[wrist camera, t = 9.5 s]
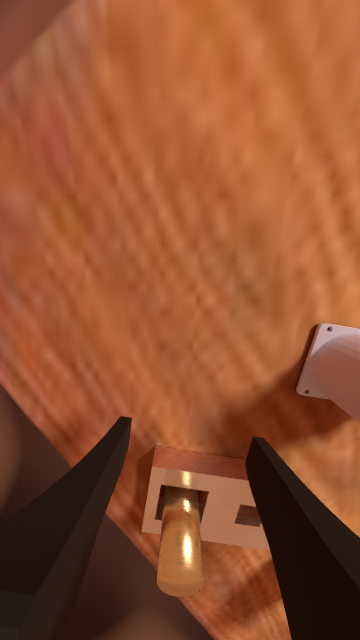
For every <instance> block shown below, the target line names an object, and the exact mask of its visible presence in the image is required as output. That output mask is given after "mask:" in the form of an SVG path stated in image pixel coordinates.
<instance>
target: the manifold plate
mask: <svg viewBox="0 0 360 640" xmlns="http://www.w3.org/2000/svg"><path fill="white" fill-rule="evenodd" d="M245 462H246V459H239V458H233V457H226V456H220V455H213V454H206V453H200V452H193V451H187V450H180V449H173V448H167V447H160V446H155V452H154V458H153V463H152V470H151V476H150V482H149V488H148V494H147V501H146V507H145V513H144V519H143V526H142V532H147V533H154V534H160V535H161V526H162V514H163V502H164V496H160V495H159V493H160V487H161V484H162V485H168V486H175V487H182V488H189V489H195V490H201V493H200V497H199V501H198V505H199V519H200V533H201V540H202V541H209V542H216V543H223V544H230V545H237V546H244V547H251V548H258V549H265V550H270V548H269V545H268V541H267V538H266V535H265V532H264V529H263V526H262V523H261V520H260V517H259V514H258V511H257V508H256V505H255V501H254V498H253V495H252V492H251V489H250V485H249V481H248V477H247V472H246V467H245Z"/></svg>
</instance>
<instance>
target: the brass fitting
mask: <svg viewBox="0 0 360 640" xmlns="http://www.w3.org/2000/svg"><path fill="white" fill-rule="evenodd" d="M157 584H158V587H159V588H160V589H161V590H162V591H163V592H164V593H166V594H168V595H171V596H175V597H187V596H191V595H194V594H196V593H198V592H199V591H200V590H201V589H202V587H203V585H204V576H203V562H202V548H201V533H200V519H199V505H198V491H197V490H195V489H189V488H182V487H175V486H168V485H165V491H164V502H163V514H162V526H161V538H160V549H159V561H158V574H157Z"/></svg>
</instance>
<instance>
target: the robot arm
mask: <svg viewBox="0 0 360 640" xmlns="http://www.w3.org/2000/svg"><path fill="white" fill-rule="evenodd" d="M328 327H330V328H329V330H328V331H327V328H328ZM306 390H307V391H306ZM305 391H306V392H305ZM296 392H297V393H298V394H299V395H304V396H310V397H317V398H323V399H329V400H332V401H333V402H334V403H335V404H336V405H338V406H339V407H340V408H341V409H342V410H344V411H345V412H346V413H347V414H348V415H350V416H351V417H352V418H353V419H354V420H356V421H357V422H358V423H359V424H360V329H359V328H353V327H347V326H341V325H335V324H329V323H320V324H319V325H318V327H317V329H316V332H315V335H314V338H313V341H312V344H311V347H310V350H309V353H308V356H307V358H306V361H305V364H304V367H303V370H302V373H301V376H300V379H299V382H298V385H297V388H296ZM131 421H132V418H129V417H123V416H121V417H120V418H119V419H118V420H117V422H116V423H115V424H114V425H113V427H112V428H111V429H110V430H109V431H108V432H107V434H106V435H105V436H104V437H103V438H102V439H101V440H100V441H99V442H98V443H97V445H96V446H95V447H94V448H93V449H92V450H91V451H90V452H89V453H88V454H87V455H86V456H85V457H84V458H83V459H82V460H81V461H80V462H78V463H77V464H76V465H75V466H74V467H73V468H72V469H71V470H70V471H69V472H67V473H66V474H65V475H64V476H63V477H62V478H61V479H59V480H58V481H57V482H56V483H55V484H53V485H52V486H51V487H50V488H48V489H47V490H46V491H45V492H44V493H42V494H41V495H40V496H38V497H37V498H36V499H34V500H33V501H32V502H30V503H29V504H28V505H26V506H25V507H23V508H22V509H21V510H19V511H18V512H16V513H15V514H14V515H12V516H11V517H9V518H8V519H7V520H5V521H4V522H2V523H1V524H0V640H65V639H66V635H67V632H68V629H69V625H70V622H71V619H72V615H73V612H74V608H75V605H76V602H77V598H78V595H79V592H80V589H81V585H82V582H83V579H84V576H85V572H86V569H87V566H88V563H89V559H90V556H91V553H92V549H93V547H94V543H95V540H96V537H97V534H98V531H99V528H100V525H101V522H102V519H103V517H104V514H105V511H106V509H107V506H108V504H109V501H110V498H111V496H112V493H113V491H114V488H115V486H116V483H117V480H118V478H119V475H120V472H121V470H122V467H123V464H124V460H125V457H126V453H127V450H128V446H129V438H130V430H131ZM245 467H246V472H247V477H248V481H249V485H250V489H251V492H252V495H253V498H254V501H255V505H256V508H257V511H258V514H259V517H260V520H261V523H262V526H263V529H264V532H265V535H266V538H267V541H268V545H269V548H270V552H271V555H272V559H273V563H274V567H275V571H276V575H277V579H278V583H279V587H280V591H281V595H282V599H283V604H284V608H285V612H286V616H287V621H288V625H289V630H290V634H291V639H292V640H360V538H359V537H358V536H357V535H356V534H355V533H354V532H353V531H351V530H350V529H349V528H348V527H347V526H346V525H345V524H344V523H343V522H342V521H341V520H340V519H339V518H337V517H336V516H335V515H334V514H333V513H332V512H331V511H330V510H329V509H328V508H327V507H326V506H325V505H324V504H323V503H322V502H321V501H320V500H319V499H318V498H317V497H316V496H315V495H314V494H313V493H312V492H311V491H310V490H309V489H308V488H307V487H306V485H305V484H304V483H303V482H302V481H301V480H300V479H299V478H298V477H297V476H296V475H295V473H294V472H293V471H292V470H291V469H290V468H289V467H288V466H287V464H286V463H285V462H284V461H283V460H282V459H281V457H280V456H279V455H278V454H277V453H276V452H275V451H274V449H273V448H272V447H271V446H270V445H269V444H268V442H267V441H266V440H265V439H264V438H260V437H253V439H252V442H251V446H250V449H249V452H248V456H247V459H246V462H245Z"/></svg>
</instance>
